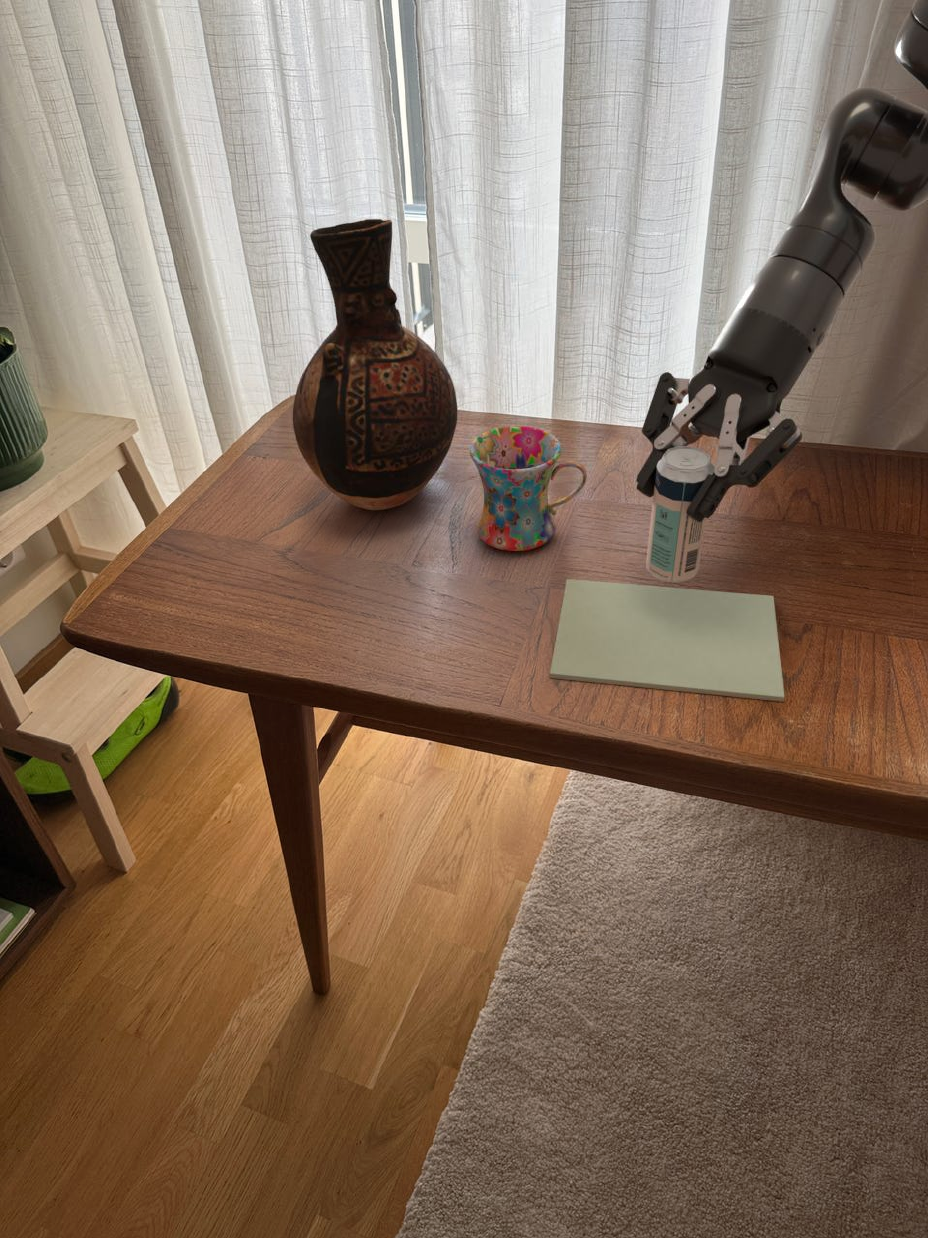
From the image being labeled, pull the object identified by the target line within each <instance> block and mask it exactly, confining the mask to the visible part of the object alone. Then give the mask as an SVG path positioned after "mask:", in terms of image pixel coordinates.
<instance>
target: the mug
mask: <svg viewBox="0 0 928 1238" xmlns="http://www.w3.org/2000/svg"><path fill="white" fill-rule="evenodd" d="M561 454H562V445H561V442H560V441H559V440H558V438H557V437H556V436H555V435H553V434H552V433H550V432H548V431H545V430H544V429H540V428H537V427H532V426H523V425H512V426H504V427H503V426H502V427H498V428H494V429H491V430H488V431H485V432H483V433H481V434H480V435H478V436H477V437H476V438H475V439H473V441H472V442H471V444H470V447H469V455H470V458H471V459H472V461H473V463H474V465H475V467H476V469H477V471H478V474H479V477H480V480H481V482H482V483H481V484H482V490H483V509H482V513H481V516H480V518H479V519H478V520H477V524H476V531H477V534H478V536H479V538H480V539H481V540H482V541H483V542H484V543H486V544H487V545H489V546H490V547H492V548H495V549H498V550H502V551H508V552H523V551H529V550H533V549H536V548H539V547H541V546H543V545H544V544H546V543H548V541H550V540H551V538H552V537H553V536H554V534H555V531H556V522H555V520H554V518H553V516H556V515H557V511H556V509H554V508H556V507H559V506H561V505H564V504H565V503H567V502H569V501H570V500H572V499H573V498H575V497H576V496H577V495H578V494H579V493H580V492H581V491H582V489H583V488H584V486H585V484H586V482H587V478H588V472H587V469H586V468H585V466H584V465H583V464H582V463H580V462H577V461H574V460H567V461H563V462H561V463H559V464H558V465H557V462H558V461H559V458H560V457H561ZM568 467H572V468H576V469H578V470H579V471H580V473H581V474H582V480H581V481H580V483H579V484H578V485H577V487H576V488H575V489H574V490H573V491H572V492H571V493H569V494H568V495H566V496H565V497H562V498H560V499H557V500H556V501H552V502H550V503H549V499H548V494H549V486H550V481H554V479H555V476H556V474H557V473H558V472H559V471H560V470H561V469H564V468H568Z"/></svg>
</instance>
